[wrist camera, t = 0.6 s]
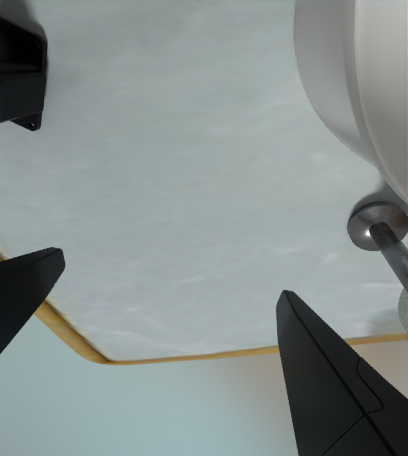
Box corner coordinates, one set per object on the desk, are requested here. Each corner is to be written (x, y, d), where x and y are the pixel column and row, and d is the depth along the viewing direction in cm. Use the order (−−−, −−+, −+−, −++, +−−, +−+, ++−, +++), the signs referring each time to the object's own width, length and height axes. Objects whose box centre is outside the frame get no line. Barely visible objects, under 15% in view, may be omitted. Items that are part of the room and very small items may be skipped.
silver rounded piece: (334, 234, 22) (384, 344, 14) (374, 190, 20) (464, 291, 11) (375, 254, 23) (448, 372, 14) (419, 213, 20) (538, 327, 12)
